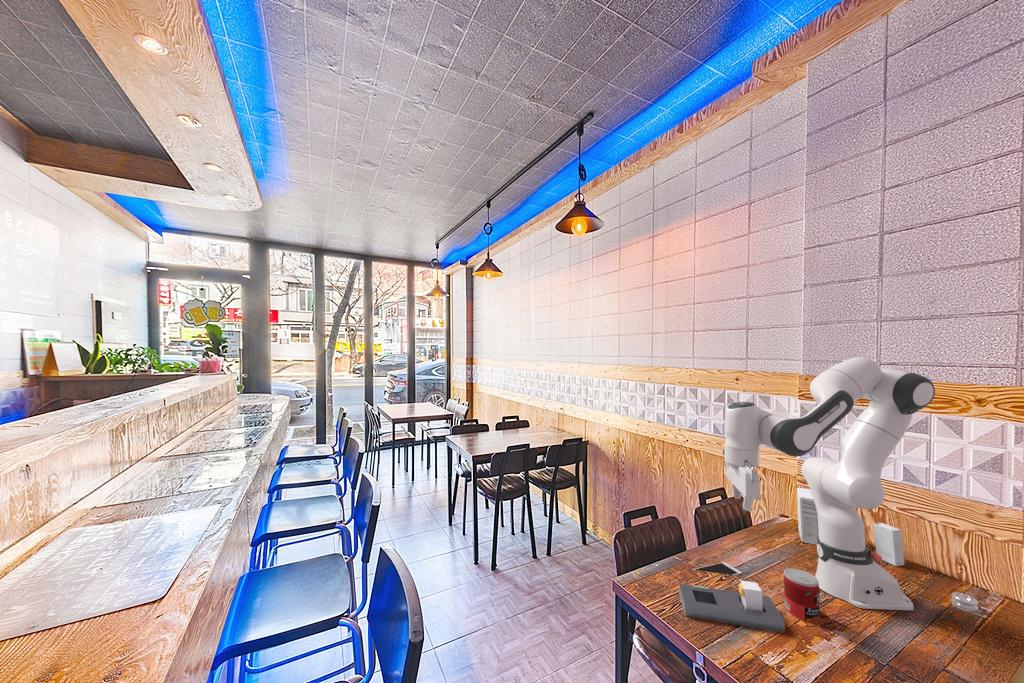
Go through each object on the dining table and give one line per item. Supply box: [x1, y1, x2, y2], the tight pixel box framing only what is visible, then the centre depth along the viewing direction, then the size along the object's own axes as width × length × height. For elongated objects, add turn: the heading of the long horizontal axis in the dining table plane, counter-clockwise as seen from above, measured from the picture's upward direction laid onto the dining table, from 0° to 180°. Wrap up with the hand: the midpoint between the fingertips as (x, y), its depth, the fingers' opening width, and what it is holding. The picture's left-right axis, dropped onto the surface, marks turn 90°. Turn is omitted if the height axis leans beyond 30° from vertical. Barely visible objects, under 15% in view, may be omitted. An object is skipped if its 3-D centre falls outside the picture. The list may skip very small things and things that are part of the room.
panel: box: [678, 583, 786, 633], centre depth 106 cm, size 24×10×4 cm, turn 75°
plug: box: [738, 580, 763, 612], centre depth 104 cm, size 5×4×8 cm
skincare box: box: [873, 522, 905, 567], centre depth 133 cm, size 6×4×12 cm
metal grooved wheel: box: [950, 591, 980, 614], centre depth 109 cm, size 5×3×5 cm
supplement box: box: [796, 487, 819, 546], centre depth 149 cm, size 13×13×18 cm
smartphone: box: [691, 561, 743, 576], centre depth 126 cm, size 7×15×1 cm, turn 109°
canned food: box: [783, 567, 821, 623], centre depth 105 cm, size 8×8×11 cm
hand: (741, 503), depth 111 cm, fingers open, 8 cm apart
